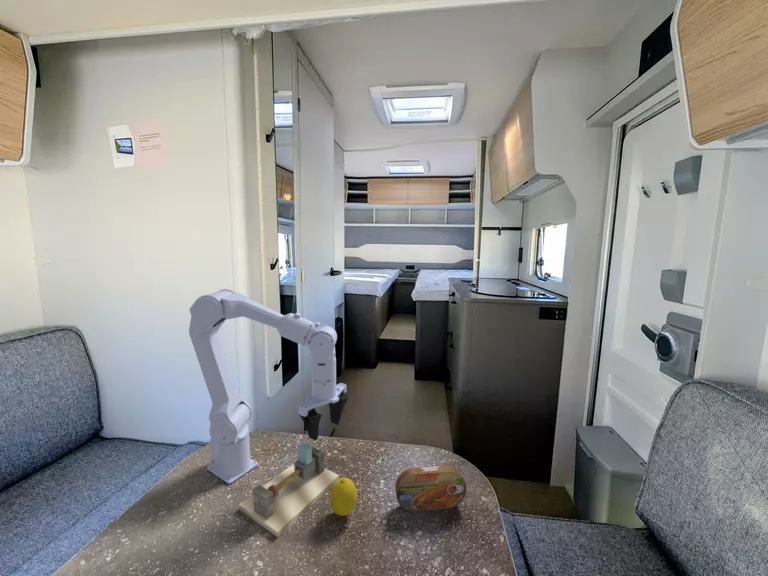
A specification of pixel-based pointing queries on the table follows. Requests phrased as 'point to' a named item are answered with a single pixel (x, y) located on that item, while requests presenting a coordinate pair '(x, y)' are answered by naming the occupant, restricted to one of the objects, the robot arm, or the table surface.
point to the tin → (430, 488)
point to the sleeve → (304, 460)
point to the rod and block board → (288, 496)
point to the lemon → (343, 496)
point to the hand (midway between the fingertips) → (324, 430)
